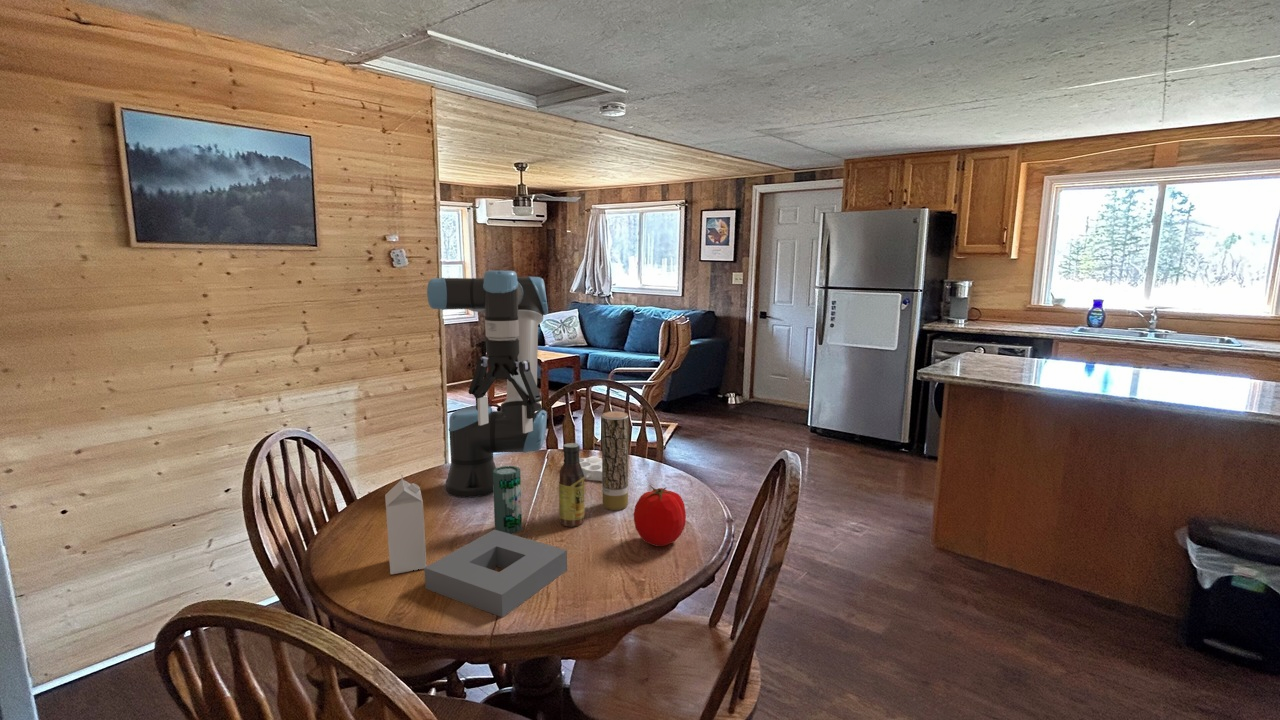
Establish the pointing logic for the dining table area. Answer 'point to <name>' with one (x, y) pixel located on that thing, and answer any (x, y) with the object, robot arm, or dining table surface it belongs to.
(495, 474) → the can
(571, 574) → the dining table surface
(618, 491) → the paper tube
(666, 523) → the tomato
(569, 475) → the sauce bottle
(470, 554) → the socket block
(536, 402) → the robot arm
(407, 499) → the milk carton
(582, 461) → the white muffin tray
